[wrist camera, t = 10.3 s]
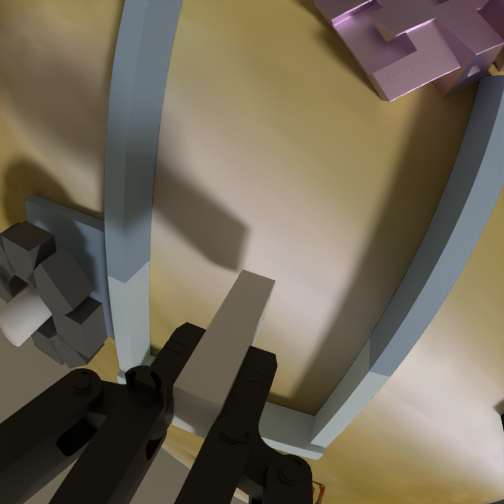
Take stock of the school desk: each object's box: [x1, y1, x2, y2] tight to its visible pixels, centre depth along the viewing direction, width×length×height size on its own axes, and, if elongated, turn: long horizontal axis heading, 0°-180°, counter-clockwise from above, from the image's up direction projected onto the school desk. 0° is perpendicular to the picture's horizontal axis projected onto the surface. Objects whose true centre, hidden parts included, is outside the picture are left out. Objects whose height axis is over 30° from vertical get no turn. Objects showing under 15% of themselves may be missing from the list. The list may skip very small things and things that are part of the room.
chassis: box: [0, 0, 504, 460], centre depth 13 cm, size 24×25×8 cm
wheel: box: [0, 221, 108, 368], centre depth 17 cm, size 10×10×2 cm
